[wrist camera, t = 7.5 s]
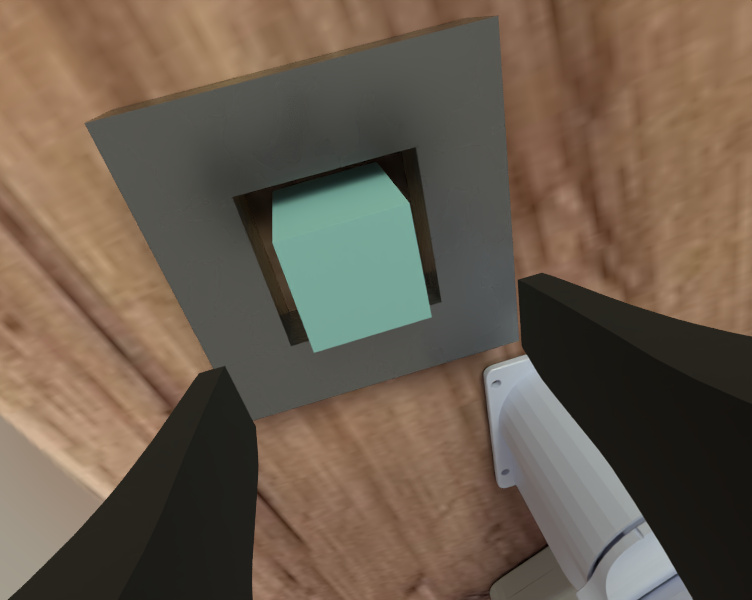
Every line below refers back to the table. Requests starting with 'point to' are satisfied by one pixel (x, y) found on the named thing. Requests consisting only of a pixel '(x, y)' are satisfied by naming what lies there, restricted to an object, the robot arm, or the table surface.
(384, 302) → the teal block
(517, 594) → the handheld gaming device
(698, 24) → the table surface
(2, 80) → the table surface
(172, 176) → the grey square-hole plate
